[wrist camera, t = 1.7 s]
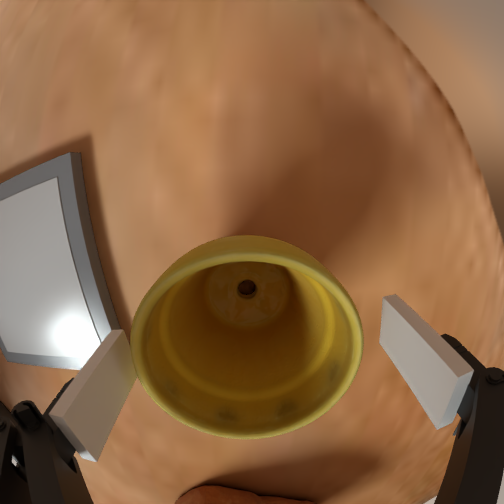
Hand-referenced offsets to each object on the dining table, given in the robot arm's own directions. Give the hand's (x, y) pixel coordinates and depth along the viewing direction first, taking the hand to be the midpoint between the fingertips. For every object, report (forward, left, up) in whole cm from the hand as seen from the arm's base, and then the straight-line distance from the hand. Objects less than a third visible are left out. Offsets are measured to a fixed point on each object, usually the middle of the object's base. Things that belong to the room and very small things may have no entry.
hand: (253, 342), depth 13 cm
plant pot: (0, 0, -8) cm, 8 cm away
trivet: (-20, +3, -8) cm, 22 cm away
